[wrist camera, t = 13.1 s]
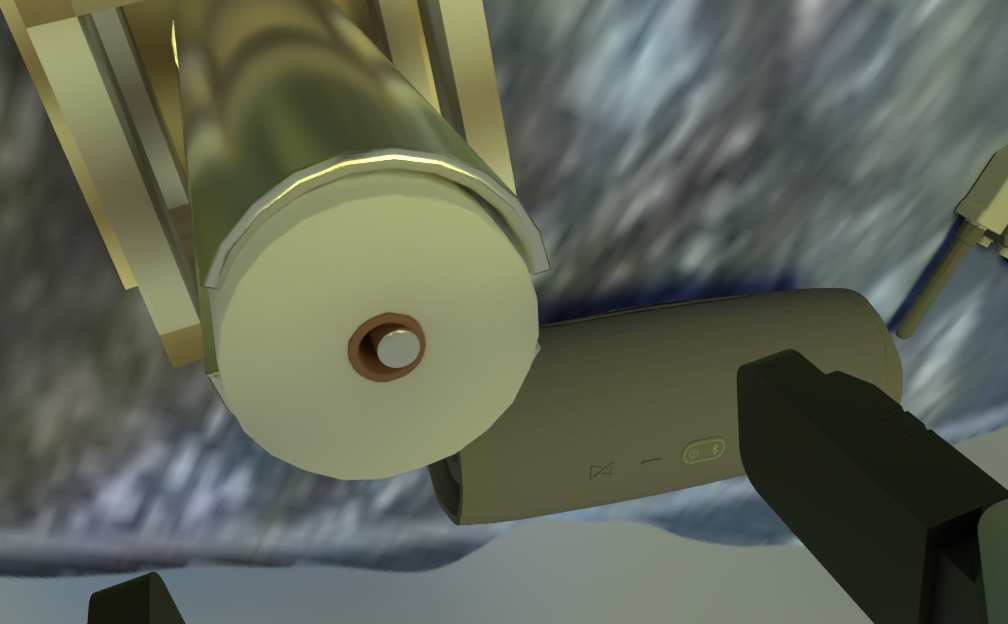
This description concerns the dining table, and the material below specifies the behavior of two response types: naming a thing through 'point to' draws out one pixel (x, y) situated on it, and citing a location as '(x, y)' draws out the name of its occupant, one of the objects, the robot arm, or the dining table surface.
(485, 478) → the bluetooth speaker
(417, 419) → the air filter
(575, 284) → the dining table surface
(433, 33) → the collar stand
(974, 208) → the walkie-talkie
